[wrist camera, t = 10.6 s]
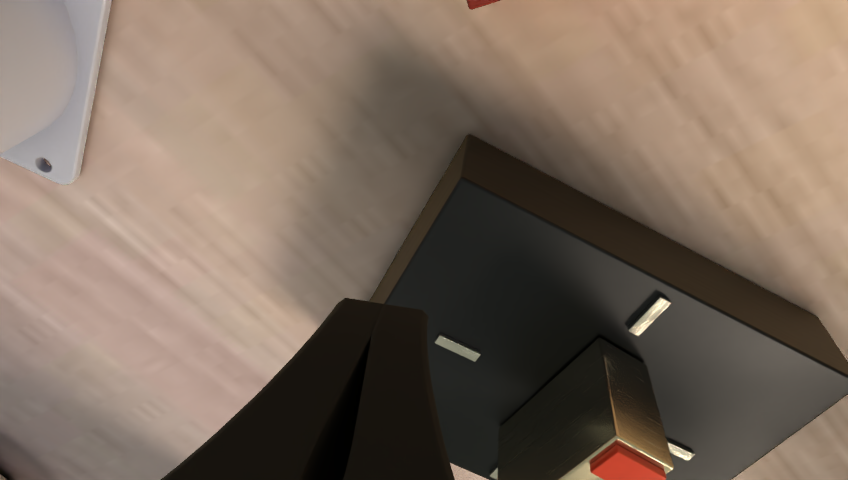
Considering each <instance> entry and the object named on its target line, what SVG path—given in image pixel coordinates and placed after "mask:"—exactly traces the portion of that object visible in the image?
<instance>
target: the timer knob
mask: <svg viewBox="0 0 848 480" xmlns="http://www.w3.org/2000/svg"><path fill="white" fill-rule="evenodd" d="M673 469H674V465H673V461H672V457H671V454H670V450H669V446H668V442H667V439H666V435H665V431H664V427H663V424H662V420H661V416H660V412H659V409H658V405H657V401H656V397H655V394H654V390H653V386H652V382H651V379H650V375H649V371H648V367H647V365H646V364H644V363H642V362H641V361H639V360H637V359H636V358H634V357H632V356H630V355H629V354H627V353H625V352H624V351H622V350H620V349H619V348H617V347H615V346H614V345H612V344H610V343H609V342H607V341H605V340H603V339H602V338H598V339H597V340H596V341H594V342H593V343H592V344H591V345H590V346H589V347H588V348H587V349H586V350H585V351H583V352H582V353H581V354H580V355H579V356H578V357H577V358H576V359H575V360H574V361H572V362H571V363H570V364H569V365H568V366H567V367H566V368H565V369H564V370H563V371H561V372H560V373H559V374H558V375H557V376H556V377H555V378H554V379H553V380H552V381H550V382H549V383H548V384H547V385H546V386H545V387H544V388H543V389H542V390H540V391H539V392H538V393H537V394H536V395H535V396H534V397H533V398H532V399H531V400H529V401H528V402H527V403H526V404H525V405H524V406H523V407H522V408H521V409H520V410H518V411H517V412H516V413H515V414H514V415H513V416H512V417H511V418H510V419H509V420H507V421H506V422H505V423H504V424H503V425H502V426H501V427H500V428H499V436H498V476H497V480H665V479H666V474H667V473H668V472H670V471H671V470H673Z"/></svg>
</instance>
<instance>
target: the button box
mask: <svg viewBox="0 0 848 480" xmlns="http://www.w3.org/2000/svg"><path fill="white" fill-rule="evenodd" d="M497 1H500V0H467V4H468V7H469V9H471V10H472V9H475V8H478V7H482V6H485V5H488V4H491V3H494V2H497Z"/></svg>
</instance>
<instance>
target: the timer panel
mask: <svg viewBox="0 0 848 480" xmlns="http://www.w3.org/2000/svg"><path fill="white" fill-rule="evenodd" d="M369 302H375V303H382V304H388V305H395V306H401V307H408V308H414V309H421V310H423V311H424V312H425V313H426V314H427V315H428V317H429V318H428V326H427V347H428V359H429V367H430V375H431V382H432V388H433V393H434V398H435V403H436V408H437V413H438V417H439V422H440V427H441V431H442V435H443V439H444V443H445V447H446V451H447V455H448V458H449V462H450V463H452V464H454V465H457V466H459V467H461V468H464V469H466V470H468V471H470V472H473V473H475V474H477V475H480V476H482V477H484V478H487V479H489V480H497V476H498V436H499V428H500V427H501V426H502V425H503V424H504V423H505V422H506V421H507V420H509V419H510V418H511V417H512V416H513V415H514V414H515V413H516V412H517V411H518V410H520V409H521V408H522V407H523V406H524V405H525V404H526V403H527V402H528V401H529V400H531V399H532V398H533V397H534V396H535V395H536V394H537V393H538V392H539V391H540V390H542V389H543V388H544V387H545V386H546V385H547V384H548V383H549V382H550V381H552V380H553V379H554V378H555V377H556V376H557V375H558V374H559V373H560V372H561V371H563V370H564V369H565V368H566V367H567V366H568V365H569V364H570V363H571V362H572V361H574V360H575V359H576V358H577V357H578V356H579V355H580V354H581V353H582V352H583V351H585V350H586V349H587V348H588V347H589V346H590V345H591V344H592V343H593V342H594V341H596V340H597V339H598V338H602V339H603V340H605V341H607V342H609V343H610V344H612V345H614V346H615V347H617V348H619V349H620V350H622V351H624V352H625V353H627V354H629V355H630V356H632V357H634V358H636V359H637V360H639V361H641V362H642V363H644V364H646V365H647V367H648V371H649V375H650V379H651V382H652V386H653V390H654V394H655V397H656V401H657V405H658V409H659V412H660V416H661V420H662V424H663V427H664V431H665V435H666V439H667V442H668V446H669V450H670V454H671V457H672V461H673V465H674V469H673V470H671V471H670V472H668V473H667V474H666V479H665V480H732V479H733V478H734V477H736V476H737V475H738V474H740V473H741V472H742V471H744V470H745V469H747V468H748V467H749V466H751V465H752V464H753V463H755V462H756V461H757V460H759V459H760V458H762V457H763V456H764V455H766V454H767V453H768V452H770V451H771V450H772V449H774V448H775V447H777V446H778V445H779V444H781V443H782V442H783V441H785V440H786V439H787V438H789V437H790V436H792V435H793V434H794V433H796V432H797V431H798V430H800V429H801V428H802V427H804V426H805V425H807V424H808V423H809V422H811V421H812V420H813V419H815V418H816V417H818V416H819V415H820V414H822V413H823V412H824V411H826V410H827V409H828V408H830V407H831V406H833V405H834V404H835V403H837V402H838V401H839V400H841V399H842V398H843V397H845V396H846V395H848V362H847V360H846V359H845V357H844V356H843V354H842V353H841V351H840V350H839V348H838V347H837V345H836V344H835V342H834V341H833V339H832V338H831V336H830V335H829V333H828V332H827V330H826V329H825V327H824V326H823V324H822V323H821V321H820V320H819V318H818V317H816V316H814V315H812V314H810V313H809V312H807V311H805V310H803V309H801V308H799V307H797V306H795V305H793V304H791V303H790V302H788V301H786V300H784V299H782V298H780V297H778V296H776V295H774V294H772V293H771V292H769V291H767V290H765V289H763V288H761V287H759V286H757V285H755V284H754V283H752V282H750V281H748V280H746V279H744V278H742V277H740V276H738V275H736V274H735V273H733V272H731V271H729V270H727V269H725V268H723V267H721V266H719V265H717V264H716V263H714V262H712V261H710V260H708V259H706V258H704V257H702V256H700V255H698V254H697V253H695V252H693V251H691V250H689V249H687V248H685V247H683V246H681V245H680V244H678V243H676V242H674V241H672V240H670V239H668V238H666V237H664V236H662V235H661V234H659V233H657V232H655V231H653V230H651V229H649V228H647V227H645V226H643V225H642V224H640V223H638V222H636V221H634V220H632V219H630V218H628V217H626V216H625V215H623V214H621V213H619V212H617V211H615V210H613V209H611V208H609V207H607V206H606V205H604V204H602V203H600V202H598V201H596V200H594V199H592V198H590V197H588V196H587V195H585V194H583V193H581V192H579V191H577V190H575V189H573V188H571V187H569V186H568V185H566V184H564V183H562V182H560V181H558V180H556V179H554V178H552V177H551V176H549V175H547V174H545V173H543V172H541V171H539V170H537V169H535V168H533V167H532V166H530V165H528V164H526V163H524V162H522V161H520V160H518V159H516V158H514V157H513V156H511V155H509V154H507V153H505V152H503V151H501V150H499V149H497V148H496V147H494V146H492V145H490V144H488V143H486V142H484V141H482V140H480V139H478V138H477V137H475V136H473V135H471V134H468V135H467V136H466V138H465V139H464V141H463V143H462V145H461V146H460V148H459V150H458V151H457V153H456V155H455V156H454V158H453V160H452V162H451V163H450V165H449V167H448V168H447V170H446V172H445V174H444V175H443V177H442V179H441V180H440V182H439V184H438V185H437V187H436V189H435V191H434V192H433V194H432V196H431V197H430V199H429V201H428V203H427V204H426V206H425V208H424V209H423V211H422V213H421V214H420V216H419V218H418V220H417V221H416V223H415V225H414V226H413V228H412V230H411V231H410V233H409V235H408V237H407V238H406V240H405V242H404V243H403V245H402V247H401V249H400V250H399V252H398V254H397V255H396V257H395V259H394V260H393V262H392V264H391V266H390V267H389V269H388V271H387V272H386V274H385V276H384V277H383V279H382V281H381V283H380V284H379V286H378V288H377V289H376V291H375V293H374V295H373V296H372V298H371V300H370V301H369Z"/></svg>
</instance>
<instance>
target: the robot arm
mask: <svg viewBox="0 0 848 480" xmlns="http://www.w3.org/2000/svg"><path fill="white" fill-rule="evenodd" d="M111 3H112V0H0V157H2V158H4V159H6V160H8V161H10V162H13V163H15V164H17V165H19V166H21V167H23V168H26V169H28V170H30V171H32V172H34V173H36V174H39V175H41V176H43V177H45V178H47V179H49V180H52V181H54V182H56V183H58V184H62V185H69V184H70V183H72V182H73V181H75V180H76V179H78V177H79V175H80V171H81V166H82V160H83V155H84V149H85V144H86V138H87V133H88V128H89V122H90V117H91V111H92V106H93V101H94V95H95V90H96V84H97V79H98V73H99V68H100V63H101V57H102V52H103V46H104V41H105V35H106V30H107V25H108V19H109V14H110V8H111ZM44 158H45V159H46V160H47V161H49V163H50V164H51V166H49V165H48V164H46V162H45V161H44ZM428 318H429V317H428V315H427V314H426V313H425V312H424V311H423V310H421V309H414V308H408V307H401V306H395V305H388V304H382V303H375V302H369V301H362V300H356V299H349V298H345V299H343V300H342V301H340V302H339V303H338V304H337V305H336V307H335V308H334V309H333V311H332V312H331V313H330V314H329V316H328V317H327V318H326V319H325V321H324V322H323V323H322V324H321V326H320V327H319V328H318V329H317V330H316V332H315V333H314V334H313V335H312V336H311V337H310V339H309V340H308V341H307V342H306V343H305V344H304V345H303V346H302V348H301V349H300V350H299V351H298V352H297V353H296V354H295V355H294V357H293V358H292V359H291V360H290V361H289V362H288V363H287V364H286V365H285V366H284V367H283V368H282V369H281V370H280V371H279V372H278V373H277V374H276V375H275V376H274V378H273V379H272V380H271V381H270V382H269V383H268V384H267V385H266V386H265V387H264V388H263V389H262V390H261V391H260V392H259V393H258V394H257V395H256V396H255V397H254V398H253V399H252V400H251V401H250V402H249V403H248V404H246V405H245V406H244V407H243V408H242V409H241V410H240V411H239V412H238V413H237V414H236V415H235V416H234V417H233V418H232V419H231V420H229V421H228V422H227V423H226V424H225V425H224V426H223V427H222V428H221V429H220V430H219V431H218V432H217V433H216V434H214V435H213V436H212V437H211V438H210V439H209V440H208V441H207V442H205V443H204V444H203V445H202V446H201V447H200V448H198V449H197V450H196V451H195V452H194V453H193V454H192V455H190V456H189V457H188V458H187V459H186V460H184V461H183V462H182V463H181V464H180V465H178V466H177V467H176V468H175V469H173V470H172V471H171V472H170V473H168V474H167V475H166V476H165V477H164V478H162V479H161V480H454V476H453V472H452V469H451V465H450V462H449V458H448V455H447V451H446V447H445V443H444V439H443V435H442V431H441V427H440V422H439V417H438V413H437V408H436V403H435V398H434V393H433V388H432V382H431V375H430V367H429V359H428V347H427V326H428Z"/></svg>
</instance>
